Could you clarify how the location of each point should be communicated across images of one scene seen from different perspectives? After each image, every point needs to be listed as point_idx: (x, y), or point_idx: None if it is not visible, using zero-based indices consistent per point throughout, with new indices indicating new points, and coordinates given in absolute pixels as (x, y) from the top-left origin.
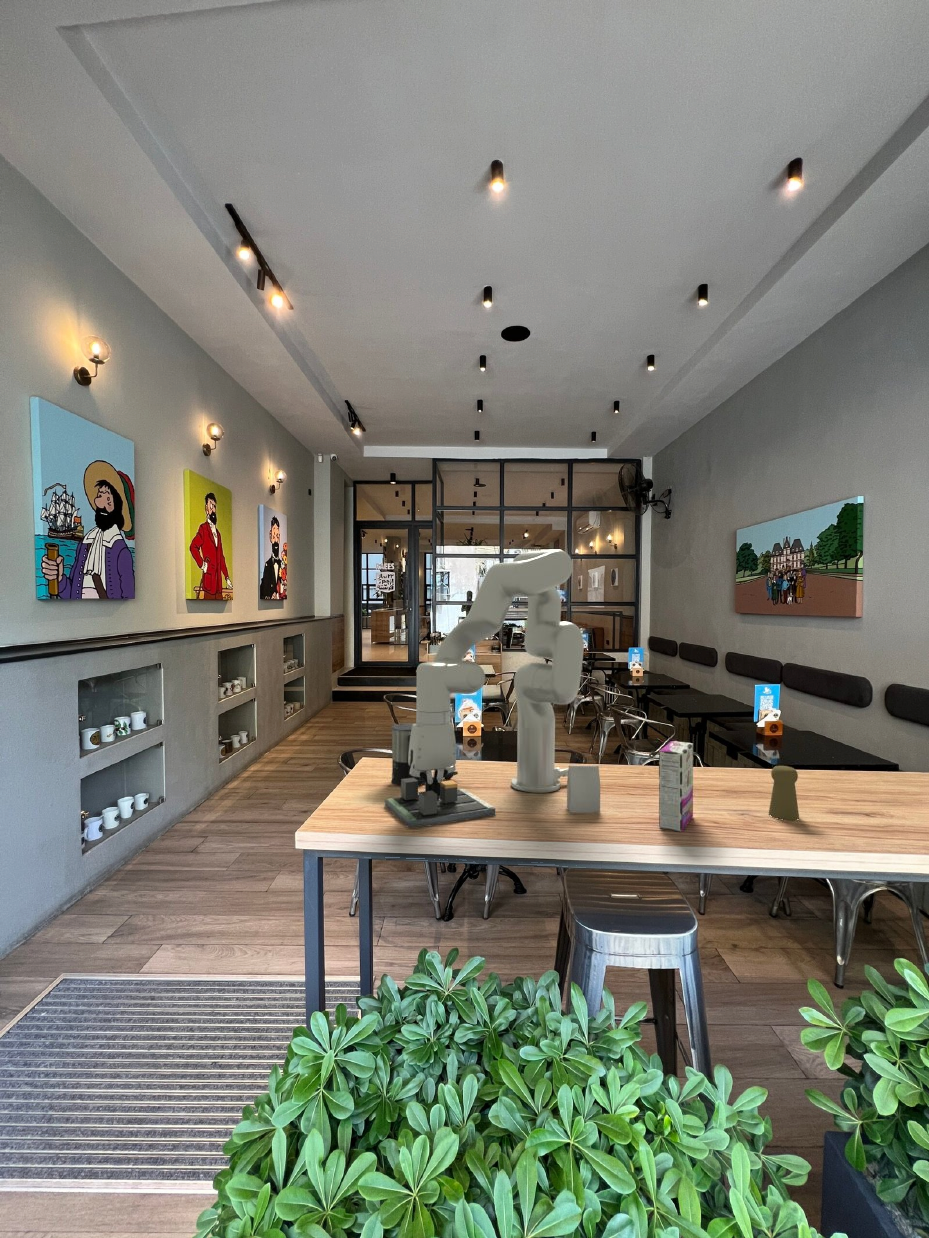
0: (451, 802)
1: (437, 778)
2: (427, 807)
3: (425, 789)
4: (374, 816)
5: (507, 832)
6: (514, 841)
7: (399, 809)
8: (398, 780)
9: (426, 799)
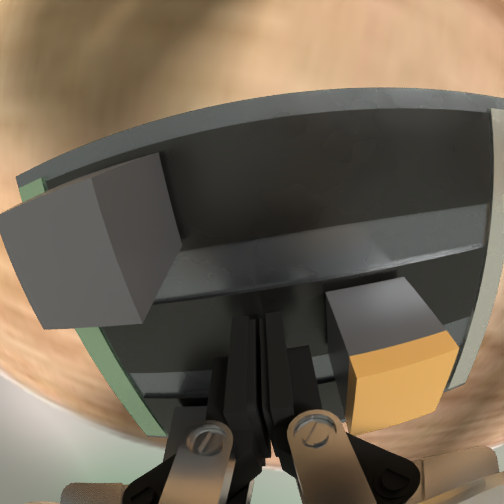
0: None
1: (298, 485)
2: None
3: (211, 387)
4: (24, 293)
5: (394, 449)
6: None
7: (92, 355)
8: None
9: None
